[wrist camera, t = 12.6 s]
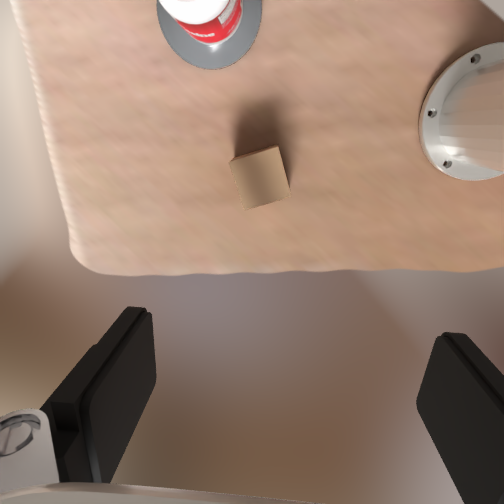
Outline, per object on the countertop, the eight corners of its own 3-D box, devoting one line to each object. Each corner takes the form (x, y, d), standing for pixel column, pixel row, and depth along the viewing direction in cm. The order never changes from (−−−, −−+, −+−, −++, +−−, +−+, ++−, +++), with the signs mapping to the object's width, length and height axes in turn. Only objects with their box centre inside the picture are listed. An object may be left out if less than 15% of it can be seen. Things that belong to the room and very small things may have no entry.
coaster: (265, -55, 29) (265, -58, 28) (258, 71, 33) (258, 70, 32) (155, -58, 29) (153, -62, 29) (161, 67, 33) (159, 66, 32)
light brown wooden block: (277, 143, 35) (278, 146, 31) (289, 187, 37) (291, 196, 32) (234, 157, 36) (228, 162, 31) (247, 200, 38) (244, 210, 33)
